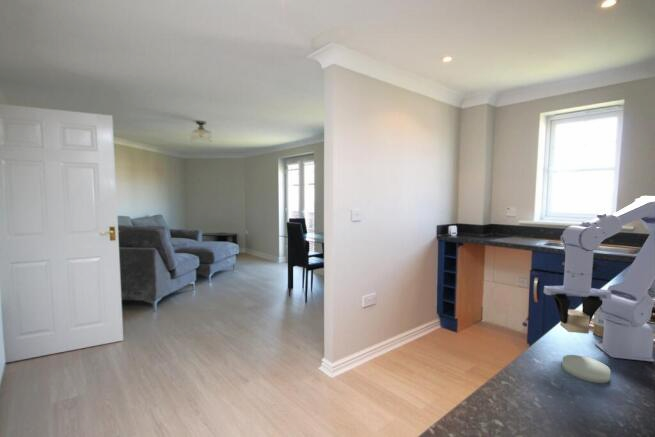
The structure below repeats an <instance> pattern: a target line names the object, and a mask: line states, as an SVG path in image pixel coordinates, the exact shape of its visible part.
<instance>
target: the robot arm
mask: <svg viewBox="0 0 655 437" xmlns="http://www.w3.org/2000/svg"><path fill="white" fill-rule="evenodd" d="M638 220H639V221H640V222H641V224H642V225H643V227H644V228H645V229H647V230H648V231H649V235H648V237H647V239H646V240H645V242H644V243H643V245H642V247H641V248H640V250H639V251H638V254H637V255H636V257H635V259H634V260H633V261H632V264H631V266H630V267H629V269H628V271H627V273H626V274H625V276H624V278H622V279H623V280H622V281H621V282H617V283H615V284H611V285H609V286H608V288H607V289H600V288H593V287H592V279H593V265H594V254H595V253H594V251H595V250H597V249H598V248H599V247H600V246H601V243H602V242H604V240H606V239H608V238H611V237H612V236H614V235H616V234H619V233H620V232H621V231H622V230H623V226H625V225H628V224H631V223H632V222H633V223H634V222H635V221H638ZM560 241H561V243H562V244H563V251H564V253H565V255H564V257H565V259H564V268H563V269H564V274H563V285H544V286H543V294H545V296H551V297H552V298H553V301H554V303H555V305H556V307H557V308H556V309H557V310H558V316H559V322H560V323H561V322H562V323H564V324H567V319H568V309H569V310H570V304H571V302H572V301H571V300H570V299H569V298H568V296H569V297H581V303H582V304H581V306H582V310H581V311H582V312H584V313H585V314H587V315H588V316H590V321H589V325H590V324H591V321H592V319H593V318H594V314H595V312H596V311H597V309H598V308H599V310H600V311H601V312H602V316H604V317H605V320H604V333H603V337H602V342H595V343H594V346H596V347H598V348H599V349H600V350H602V352H604V353H605V354H606V355H608V356H609V357H611V358H615V359H624V360H634V361H644V362H645V361H646V362H651V363H652V362H654V361H655V360H654V358H653V350H654V336H655V335H654V331H653V329H652V327H651V326H650V325H649V324H648V322H649V321H650V320H651V317H652V313H653V312H652V311H653V307H654V305H655V301H654V299H653V298H652V297H651V295H650V294H649V290H650V288H651V286H652V284H653V283H654V281H655V195H641V196H640V197H639V198H635V199H634V200H633V202H632V203H631V204H629V205H627V206H625V207H624V208H621V209H620V210H618V211H616V212H615V213H613V214H611V213H608V212H600V213H597V214H596V217H594V218H593V217H592V218H591V219H589V220H585V221H582V222H581V223H580V224H579V225H569V226H568V227H566V228H565V229H564V230H563V231H562V235H560Z"/></svg>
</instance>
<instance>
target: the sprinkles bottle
mask: <svg viewBox="0 0 655 437" xmlns="http://www.w3.org/2000/svg"><path fill="white" fill-rule="evenodd" d="M604 320H605V317H604V316H602V312H601V311H600V310H599V308H598V309H597V311H596V312H595V314H594V315H593V327H592V329H593V330H592V333H593V335H595V336H598V337H601V338H603V333H604Z"/></svg>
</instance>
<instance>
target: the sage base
mask: <svg viewBox="0 0 655 437" xmlns="http://www.w3.org/2000/svg"><path fill="white" fill-rule="evenodd" d="M561 364H562V366H561V368H562V369H563V371H564V372H566V373H567V374H569V375H570V376H572V377H575V378H577V379H579V380H583V381H586V382H589V383H595V384H605V383H608V382H610V380H611V369H610V367H609V366H608V365H606V364H604V363H603V362H600V361H599V360H596V359H594V358H591V357H587V356H583V355H579V354H576V355H575V354H567V355H564V356H563V357H562V363H561Z"/></svg>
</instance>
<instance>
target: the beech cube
mask: <svg viewBox="0 0 655 437" xmlns="http://www.w3.org/2000/svg"><path fill="white" fill-rule="evenodd" d="M589 321H590V316H588V315H587V314H585V313H584V312H582V310H579V309H570V308H569V309H568V319H567V324H564V323H562V322H561V321H560V326H561V327H562V328H563V329H565V330H566V332H568V333H577V334H589V332H590V324H589Z"/></svg>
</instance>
